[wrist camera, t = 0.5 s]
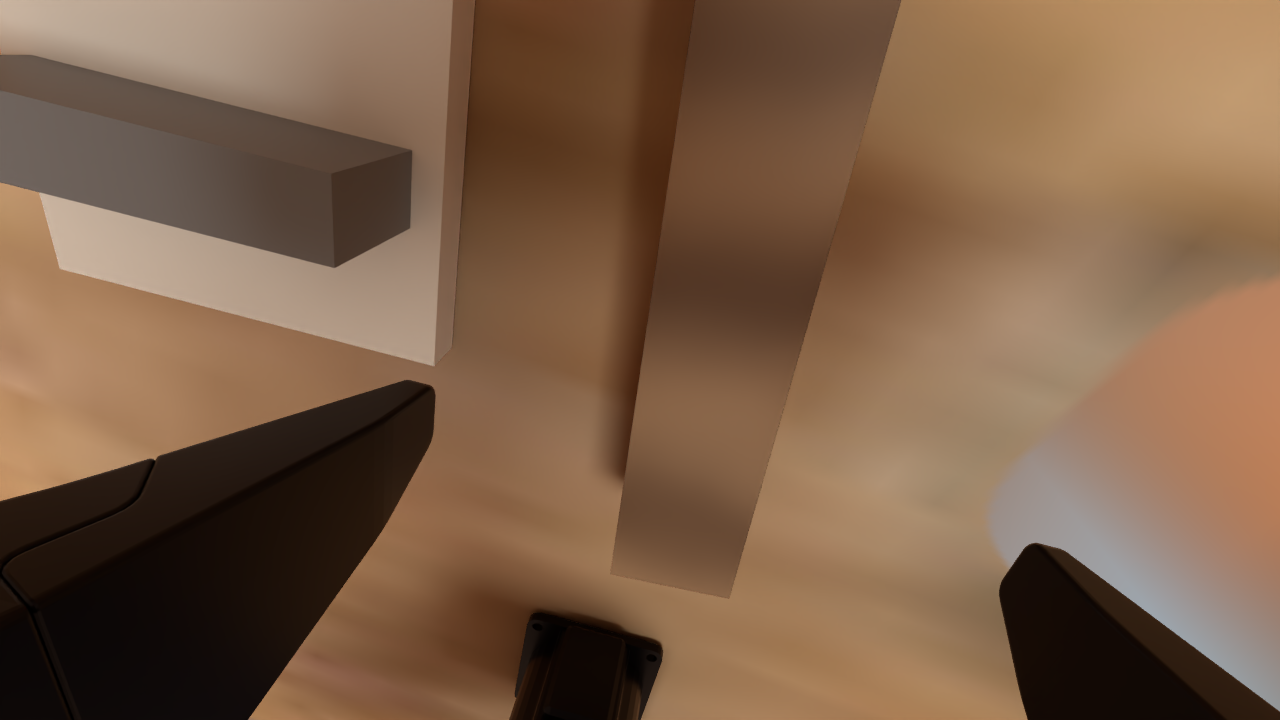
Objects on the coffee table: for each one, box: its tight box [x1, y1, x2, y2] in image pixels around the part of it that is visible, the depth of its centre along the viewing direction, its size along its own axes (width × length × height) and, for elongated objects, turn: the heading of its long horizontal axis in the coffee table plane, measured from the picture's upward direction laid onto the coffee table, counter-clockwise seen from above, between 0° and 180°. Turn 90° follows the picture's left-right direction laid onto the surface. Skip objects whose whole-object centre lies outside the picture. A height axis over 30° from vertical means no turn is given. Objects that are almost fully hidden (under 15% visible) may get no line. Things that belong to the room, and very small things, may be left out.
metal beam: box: [610, 0, 901, 599], centre depth 17 cm, size 20×4×5 cm, turn 173°
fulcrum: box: [0, 0, 475, 366], centre depth 17 cm, size 12×14×6 cm
